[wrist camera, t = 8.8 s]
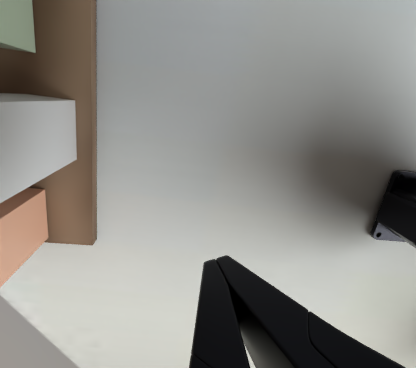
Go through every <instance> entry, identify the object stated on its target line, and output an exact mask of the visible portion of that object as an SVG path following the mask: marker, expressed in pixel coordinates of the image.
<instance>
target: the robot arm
mask: <svg viewBox="0 0 416 368" xmlns="http://www.w3.org/2000/svg"><path fill="white" fill-rule="evenodd" d="M399 175H400V177H399ZM398 177H399V178H398ZM377 233H378V234H377ZM376 234H377V235H376ZM371 236H372V237H373V238H374V239H377V240H389V241H402V242H407V243H409V244H410V245H412V246H414V247H415V248H416V172H410V171H402V170H397V171H395V172H394V173H393V174H392V177H391V179H390V182H389V185H388V187H387V190H386V193H385V195H384V198H383V201H382V203H381V206H380V209H379V211H378V214H377V217H376V220H375V222H374V225H373V228H372V230H371ZM244 344H245V346H246V348H247V350H248V352H249V354H250V356H251V358H252V361H253V363H254V365H255V367H256V368H405V367H404V366H402V365H400V364H398V363H396V362H395V361H393V360H391V359H389V358H387V357H385V356H384V355H382V354H380V353H378V352H376V351H375V350H373V349H371V348H369V347H367V346H366V345H364V344H362V343H360V342H358V341H357V340H355V339H353V338H352V337H350V336H348V335H346V334H345V333H343V332H341V331H340V330H338V329H336V328H335V327H333V326H332V325H330V324H329V323H327V322H326V321H324V320H322V319H321V318H319V317H318V316H317V315H315V314H314V313H312V312H308V309H306V308H305V307H303V306H302V305H300V304H299V303H297V302H296V301H294V300H293V299H291V298H290V297H288V296H287V295H285V294H284V293H282V292H281V291H279V290H278V289H277V288H275V287H274V286H272V285H271V284H269V283H268V282H266V281H265V280H263V279H262V278H260V277H259V276H257V275H256V274H254V273H253V272H251V271H250V270H249V269H247V268H246V267H244V266H243V265H241V264H240V263H238V262H237V261H235V260H234V259H232V258H231V257H229V256H227V255H225V256H222V257H219V258H217V259H216V260H215V259H212V260H209V261H206V262H204V265H203V272H202V280H201V287H200V294H199V301H198V308H197V316H196V323H195V330H194V337H193V344H192V352H191V354H192V355H191V358H190V365H189V368H250V365H249V361H248V357H247V354H246V350H245V346H244Z"/></svg>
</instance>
